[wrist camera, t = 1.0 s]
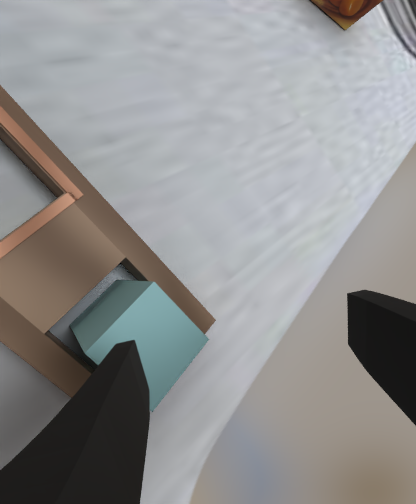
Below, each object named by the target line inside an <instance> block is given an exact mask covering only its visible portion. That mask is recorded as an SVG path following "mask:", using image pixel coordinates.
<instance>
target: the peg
mask: <svg viewBox="0 0 416 504" xmlns="http://www.w3.org/2000/svg"><path fill="white" fill-rule="evenodd" d="M70 327H71V328H72V330H73V332H74V334H75V336H76V338H77V340H78V342H79V344H80V346H81V348H82V350H83V351H84V353H85V354H86V355H87V356H88V357H89V358H90V359H92V360H93V361H94V362H95V363H96V364H97V365H99V364H100V363H101V362H102V360H103V359H104V358H105V356H106V355H107V354H108V353H109V351H110V350H111V349H112V348H113V346H114V345H115V344H116V343H121V342H126V341H130V340H135V342H136V345H137V349H138V352H139V356H140V359H141V362H142V366H143V369H144V373H145V376H146V379H147V383H148V386H149V390H150V411H152V412H153V410H154V409H155V408H156V407H157V405H158V404H159V403H160V401H161V400H162V399H163V398H164V396H165V395H166V394H167V392H168V391H169V390H170V389H171V387H172V386H173V385H174V384H175V382H176V381H177V380H178V378H179V377H180V376H181V375H182V373H183V372H184V371H185V369H186V368H187V367H188V366H189V364H190V363H191V362H192V361H193V359H194V358H195V357H196V355H197V354H198V353H199V352H200V350H201V349H202V348H203V346H204V345H205V344H206V343H207V341H208V340H209V339H208V338H207V337H206V335H205V334H204V333H203V332H202V331H201V330H200V329H199V328H198V327H197V326H196V325H195V324H194V323H193V322H192V321H191V320H190V319H189V318H188V317H187V316H186V315H185V313H184V312H183V311H182V310H181V309H180V308H179V307H178V306H177V305H176V304H175V303H174V302H173V301H172V300H171V299H170V298H169V297H168V296H167V295H166V294H165V292H164V291H163V290H162V289H161V288H160V287H159V286H158V285H157V284H156V283H155V282H153V281H131V280H116V281H115V282H114V283H113V284H112V285H111V286H110V287H109V288H108V289H107V290H106V291H105V292H103V293H102V294H101V295H100V296H99V297H98V298H97V299H96V300H95V301H94V302H93V303H92V304H91V305H90V306H89V307H88V308H87V309H86V310H85V311H84V312H83V313H82V314H81V315H80V316H79V317H78V318H76V319H75V320H74V321H73V322H72V323H71V324H70Z"/></svg>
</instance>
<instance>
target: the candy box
mask: <svg viewBox="0 0 416 504" xmlns="http://www.w3.org/2000/svg"><path fill="white" fill-rule="evenodd" d="M311 1H312V2H314V3H315V4H316V5H317V6H318V7H319V8H321V9H322V10H323V11H324V12H325V13H326V14H328V15H329V16H330V17H331V18H332V19H333V20H335V21H336V22H337V23H338V24H339V25H340V26H341V27H342V28H343V29H344V30H346V29H348V28H349V27H350V26H351V25H353V24H354V23H355V22H356V21H358V20H359V19H360V18H361V17H363V16H364V15H365V14H366V13H368V12H369V11H370V10H371V9H373V8H374V7H375V6H376V5H378V4H379V3H380V2H381V1H383V0H311Z"/></svg>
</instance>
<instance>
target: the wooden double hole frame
mask: <svg viewBox="0 0 416 504" xmlns="http://www.w3.org/2000/svg"><path fill="white" fill-rule="evenodd" d="M0 139H1V140H2V141H3V142H4V143H5V144H6V145H7V146H8V147H9V148H10V149H11V150H12V151H13V152H14V153H15V154H16V155H17V156H18V158H19V159H20V160H21V161H22V162H23V163H24V164H25V165H26V166H27V167H28V168H29V169H30V170H31V171H32V172H33V173H34V174H35V175H36V176H37V177H38V178H39V179H40V180H41V181H42V182H43V183H44V184H45V185H46V186H47V187H48V188H49V189H50V190H51V191H52V192H53V194H54V195H55V196H56V197H57V199H56V200H54V201H53V202H52V203H50V204H49V205H48V206H46V207H45V208H44V209H42V210H41V211H40V212H38V213H37V214H35V215H34V216H33V217H31V218H30V219H29V220H27V221H26V222H25V223H23V224H22V225H21V226H19V227H18V228H17V229H15V230H14V231H12V232H11V233H10V234H8V235H7V236H6V237H4V238H3V239H2V240H0V341H1V342H2V343H3V344H5V345H6V346H7V347H8V348H10V349H11V350H12V351H13V352H15V353H16V354H17V355H18V356H20V357H21V358H22V359H23V360H25V361H26V362H27V363H28V364H30V365H31V366H32V367H33V368H35V369H36V370H37V371H38V372H40V373H41V374H42V375H43V376H45V377H46V378H47V379H48V380H50V381H51V382H52V383H53V384H55V385H56V386H57V387H58V388H60V389H61V390H62V391H64V392H65V393H66V394H67V395H69V396H70V397H71V398H72V397H73V396H74V395H75V394H76V393H77V391H78V390H79V389H80V388H81V387H82V385H83V384H84V383H85V382H86V380H87V379H88V378H89V377H90V375H91V374H92V373H93V372H94V371H95V370H94V369H93V368H92V367H90V366H89V365H88V364H87V363H86V362H85V361H83V360H82V359H81V358H80V357H79V356H78V355H76V354H75V353H74V352H73V351H72V350H71V349H69V348H68V347H67V346H66V345H65V344H64V343H62V342H61V341H60V340H59V339H58V338H57V337H55V336H54V335H53V334H52V333H51V332H50V331H48V330H49V329H50V328H51V327H52V326H53V325H54V324H55V323H56V322H57V321H58V320H59V319H61V318H62V317H63V316H64V315H65V314H66V313H67V312H68V311H69V310H70V309H71V308H72V307H73V306H74V305H75V304H77V303H78V302H79V301H80V300H81V299H82V298H83V297H84V296H85V295H86V294H87V293H88V292H89V291H90V290H91V289H93V288H94V287H95V286H96V285H97V284H98V283H99V282H100V281H101V280H102V279H103V278H104V277H105V276H106V275H107V274H109V273H110V272H111V271H112V270H113V269H114V268H115V267H116V266H117V265H118V264H119V263H120V262H121V263H122V265H123V266H124V267H125V268H126V269H127V270H128V271H129V272H130V273H131V274H132V275H133V276H134V277H135V278H136V279H137V280H138V281H153V282H155V283H156V284H157V285H158V286H159V287H160V288H161V289H162V290H163V291H164V292H165V294H166V295H167V296H168V297H169V298H170V299H171V300H172V301H173V302H174V303H175V304H176V305H177V306H178V307H179V308H180V309H181V310H182V311H183V312H184V313H185V315H186V316H187V317H188V318H189V319H190V320H191V321H192V322H193V323H194V324H195V325H196V326H197V327H198V328H199V329H200V330H201V331H202V332H203V333H204V334H205V333H206V332H207V331H208V329H209V328H210V327H211V326H212V324H213V323H214V322H215V321H216V320H215V319H214V318H213V316H212V315H211V314H210V313H209V312H208V311H207V310H206V309H205V308H204V307H203V306H202V304H201V303H200V302H199V301H198V300H197V299H196V298H195V297H194V296H193V295H192V294H191V292H190V291H189V290H188V289H187V288H186V287H185V286H184V285H183V284H182V283H181V282H180V280H179V279H178V278H177V277H176V276H175V275H174V274H173V273H172V272H171V271H170V270H169V269H168V267H167V266H166V265H165V264H164V263H163V262H162V261H161V260H160V259H159V258H158V257H157V255H156V254H155V253H154V252H153V251H152V250H151V249H150V248H149V247H148V246H147V245H146V243H145V242H144V241H143V240H142V239H141V238H140V237H139V236H138V235H137V234H136V233H135V231H134V230H133V229H132V228H131V227H130V226H129V225H128V224H127V223H126V222H125V221H124V219H123V218H122V217H121V216H120V215H119V214H118V213H117V212H116V211H115V210H114V209H113V207H112V206H111V205H110V204H109V203H108V202H107V201H106V200H105V199H104V198H103V197H102V195H101V194H100V193H99V192H98V191H97V190H96V189H95V188H94V187H93V186H92V185H91V183H90V182H89V181H88V180H87V179H86V178H85V177H84V176H83V175H82V174H81V173H80V171H79V170H78V169H77V168H76V167H75V166H74V165H73V164H72V163H71V162H70V161H69V159H68V158H67V157H66V156H65V155H64V154H63V153H62V152H61V151H60V150H59V149H58V148H57V146H56V145H55V144H54V143H53V142H52V141H51V140H50V139H49V138H48V137H47V136H46V134H45V133H44V132H43V131H42V130H41V129H40V128H39V127H38V126H37V125H36V124H35V122H34V121H33V120H32V119H31V118H30V117H29V116H28V115H27V114H26V113H25V112H24V110H23V109H22V108H21V107H20V106H19V105H18V104H17V103H16V102H15V101H14V100H13V98H12V97H11V96H10V95H9V94H8V93H7V92H6V91H5V90H4V89H3V88H2V86H1V85H0Z"/></svg>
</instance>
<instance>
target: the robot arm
mask: <svg viewBox="0 0 416 504" xmlns="http://www.w3.org/2000/svg"><path fill="white" fill-rule="evenodd" d="M347 301H348V345H349V346H350V348H351V349H352V351H353V352H354V354H355V355H356V357H357V358H358V360H359V361H360V362H361V364H362V365H363V367H364V368H365V369H366V371H367V372H368V373H369V374H370V375H371V376H372V378H373V379H374V380H375V381H376V382H377V383H378V384H379V385H380V387H382V389H383V390H384V391H385V392H386V393H387V394H388V395H389V397H390V398H391V399H392V400H393V401H394V402H395V403H396V404H397V405H398V407H399V408H400V409H401V410H402V411H403V412H404V413H405V414H406V415H407V416H408V418H410V420H411V421H412V422H413V423H414V424H415V425H416V304H414V303H410V302H407V301H404V300H401V299H398V298H394V297H391V296H388V295H384V294H380V293H377V292H373V291H368V290H361V291H357V292H352V293H348V294H347ZM149 420H150V390H149V386H148V383H147V379H146V376H145V373H144V369H143V366H142V362H141V359H140V356H139V352H138V349H137V345H136V342H135V340H130V341H126V342H121V343H116V344H115V345H114V346H113V348H112V349H111V350H110V351H109V353H108V354H107V355H106V356H105V358H104V359H103V360H102V362H101V363H100V364H99V365H98V367H97V368H96V369H95V371H94V372H93V373H92V374H91V375H90V377H89V378H88V379H87V380H86V382H85V383H84V384H83V385H82V387H81V388H80V389H79V390H78V391H77V393H76V394H75V395H74V396H73V397H72V398H71V399H70V400H69V402H68V403H67V404H66V405H65V406H64V407H63V408H62V410H61V411H60V412H59V413H58V414H57V415H56V416H55V418H54V419H53V420H52V421H51V422H50V423H49V424H48V425H47V426H46V427H45V428H44V429H43V430H42V431H41V432H40V433H39V434H38V435H37V436H36V437H35V438H34V439H33V440H32V441H31V442H30V443H29V444H28V445H27V446H26V447H25V448H24V449H23V450H22V451H21V452H20V453H19V454H18V455H17V456H16V457H15V458H14V459H13V460H12V461H10V462H9V463H8V464H7V465H6V466H5V467H4V468H3V469H1V470H0V504H140V497H141V489H142V480H143V472H144V464H145V456H146V447H147V439H148V430H149Z"/></svg>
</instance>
